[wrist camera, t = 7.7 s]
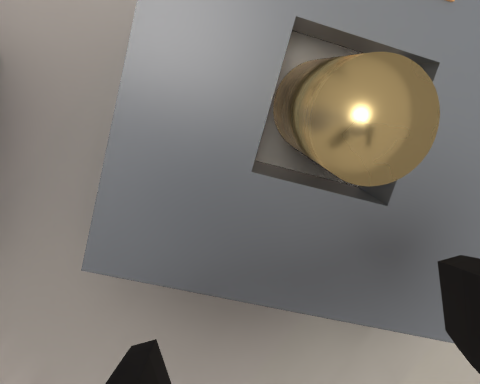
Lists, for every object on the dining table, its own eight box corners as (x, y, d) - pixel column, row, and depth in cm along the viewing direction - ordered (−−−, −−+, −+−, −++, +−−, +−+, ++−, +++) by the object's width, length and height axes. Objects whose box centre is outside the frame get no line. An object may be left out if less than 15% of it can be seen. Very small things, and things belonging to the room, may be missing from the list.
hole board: (97, 241, 19) (80, 272, 16) (183, -165, 16) (182, -225, 12) (418, 308, 22) (455, 345, 19) (553, -24, 18) (626, -44, 15)
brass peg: (254, 106, 18) (283, 121, 13) (323, 38, 18) (386, 20, 12) (314, 171, 19) (367, 211, 14) (381, 108, 19) (464, 122, 13)
